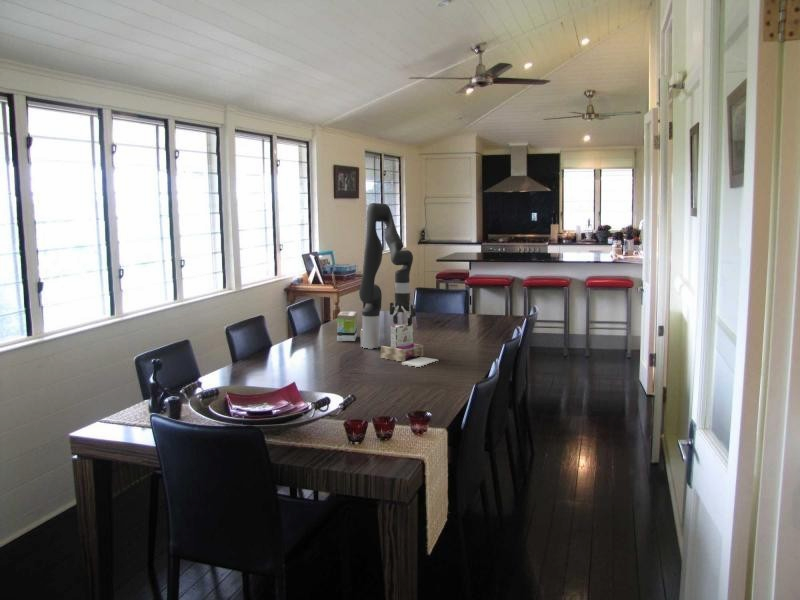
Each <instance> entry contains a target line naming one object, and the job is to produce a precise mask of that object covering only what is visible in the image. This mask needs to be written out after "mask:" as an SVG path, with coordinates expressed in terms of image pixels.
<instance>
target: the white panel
mask: <svg viewBox="0 0 800 600" xmlns="http://www.w3.org/2000/svg"><path fill="white" fill-rule="evenodd" d="M435 361H438V362H439V359H436V358H430V357H425V356H423V357H416V358H413V359H409V360H406V361H405V362H400V363H401V364H402V365H401V366H405V365H408V366H407V367H411V366H415V367H414V368H416V367H420V368H422V367H421V366H423V367H425V366H424V365H426V366H428V365H427V364H429V363H432V362H435Z"/></svg>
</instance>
